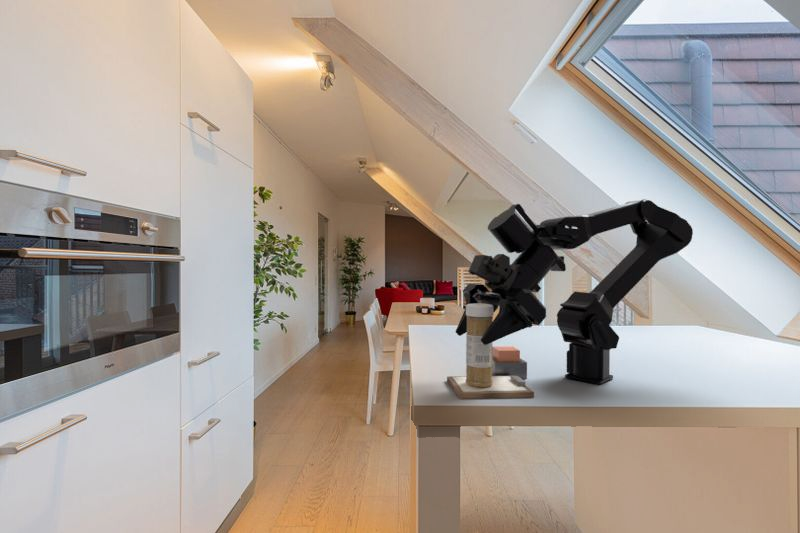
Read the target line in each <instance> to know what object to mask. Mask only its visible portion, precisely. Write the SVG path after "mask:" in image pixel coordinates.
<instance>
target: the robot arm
mask: <svg viewBox="0 0 800 533" xmlns="http://www.w3.org/2000/svg"><path fill="white" fill-rule="evenodd" d="M628 225H629V226H630V228H631V231H632V232H633V234H634V235H635V236H636V241H635V242H636V243H635V247H633V249H632V250H631V251H629V253H628V254H627V255H626V256H624V258H623V259H622V260H621V261H619V263H618V264H617V265H616V266H615V267H614V268H612V270H611V271H609V273H608V274H607V275H606V276H605V277H604V278H603V279H602V280H601V281H600V282H599V283H598V284H597V285H596V286H595V287H594V288H593V289H592V290H590V291H589V292H584V291H574V292H573V293H571V294H570V296H569V297H568V298H567V299H566V300H565V301H564V302H562V303H560V308H559V310H558V311H557V314H556V317H557V319H556V323H557V327H558V329H559V331H560V333H561V335H562V336H561V337H562V339H563V342H564V343H568V350H566V373H567V374H566V373H565V374H564V378H566V379H572V380H576V381H581V382H587V383H591V384H595V385H596V384H597V385H602V384H603V383H605V382H607V381H609V380H610V381H611V380H612V379H613V378H614V375H612V374H610V368H611V367H610V363H611V362H610V361H611V360H610V356H611V355H610V354H611V353H610V350H612V349H614V350H615V349H617V347H618V343H619V341H620V340H619V339H620V337H619V335H618V334H617V333H616V331H615V330H614V329H613V328H612V327H611V323H612V322H613V315H614V313H613V312H614V309H615V308H616V306H617V305H618V304H619V303H621V301H622V300H623V299H624V298H625V297H626V296H627V295H628V294H629V293H630V291H632V290H633V289H634V287H636V285H637V284H639V282H641V280H642V279H643V278H644V277H645V276H646V275H647V274H648V273H649V272H650V271H651V270H652V269H653V268H654V267H655V265H657V264H658V263H659V261H662V260H663V259H666V258H668V257H671V256H674V255H675V254H677V253H679V252H680V251H682V250H683V249H684V248H686V247H687V246H689V245H690V243H692V239H693V234H694V233H693V231H694V230H693V228H692V225H691V224H690V223H689V221H687V220H686V219H685V218H683V217H681V216H680V215H678V214H677V213H675V212H673V211H671V210H668V209H666V208H664V207H661V206H659V205H657V204H656V203H655V202H653V201H652V200H649V199H647V198H646V199H645V198H642V199H638V200H632V201H631V200H630V201H627V202H625V203H624V204H620V205H616V206H613V207H609V208H605V209H603V210H600V211H596V212H591V213H588V214H586V215H571V216H563V217H555V218H548V219H545V220H543V221H541V222H540V224H535V222H533V221H532V219H531V218H530V216H529V215H528V214H527V213H526V211H525V209H524V208H523V206H522V205H521V204H520V203H517V204H511V206H510V207H509V208H507V209H505V210H504V211H503V212H501V213H499V215H497V216H495V217H494V218H493V219H492V220H491V221H490V222H489V223H488V225H487V230H488V231H489V232H490V233H491V235H492V236H493V237H494V238H495V239H496V241H498V242H499V244H500V246H502V247H503V249H504V250H505V251H506V252H507V253H509V254H512V253H516V254H518V256H517V257H516V258H515V259H514V261H512V263H511V257H510V256H509V255H506V254H504V253H498V254H496V255H495V256H492V255H486V254H475V255H474V257H473V260H472V261H471V264H470V266H469V267H468V268H469V269H468V271H467V272H468V273H469V275H473V276H477V277H479V278H481V279H483V280H484V281H485V284H481V283H468V284H467V285H466V286H465V287H464V288H463V290H462V293H463V298H464V300H465V306H466V305H467V304H475V303H480V304H491V305H493V309H494V313H495V312H496V311H497V310H498V308H499V310H498V313H497V314H496V315H495V317H494V319H492V323H491V325H490V326H489V327H488V329H487V330H486V332H485V333H484V335H483V337H482V338H481V342H482V343H483V344H484V345H487V344H489V343H492V344H493V342H495V341H498V340H500V339H503V338H505V337H506V336H509V335H512V334H514V333H517V332H519V331H522V330H525V329H527V328H532V327H533V325H535V326H540V325H541V324H542V323H543V321H544V320H545V318H546V317H547V308H546V307H545V305H544V304H543V303H542V302H541V301H540V300H539V299H538V297H537V296H536V295H535V294H534V293H539V291H541V289H542V287H541V286H540V285H539V284H540V282H541V281H542V280H543V279H544V278H545V277H546V276H547V275H548V273H549V272H550V271H551V272H565V271H566V269H567V267H566V263H565V256H564V255H558V253H556V252H555V251H559V250H561V251H562V250H574V249H576V248H579V247H580V246H582V245H584V244H585V243H588V242H589V240H590V239H592V238H593V237H594V236H596V235H599V234H601V233H602V234H603V233H605V232H609V231H611V230H615V229H618V228H621V227H624V226H628ZM489 289H490V290H489ZM455 333H456V334H457V336H462V335H464V334H466V333H467V315H466V307H465V308H464V311H463V313H462V316H461V318H460V320H459V323H458V325H457V327H456V329H455Z"/></svg>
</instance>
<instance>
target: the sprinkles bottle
mask: <svg viewBox="0 0 800 533" xmlns="http://www.w3.org/2000/svg"><path fill="white" fill-rule="evenodd" d="M465 308H466V315H467V332H466V333H465V334H466V336H465V338H466V342H465V343H466V344H465V346H466V349H465V351H466V352H465V353H466V354H465V364H466V365H465V366H466V367H465V368H466V370H465V371H466V375H465V376H466V383H467V384H468V385H470V386H474V387H489V386H491V385H492V384H493V381H492V364H493V347H494V346H493V342H492V343H489V344H487V345H484V344H483V343H482V342H481V338H482V337H483V335H484V333H485V332H486V330H487V329H488V327H489V326H490V325H491V323H492V322H493V320H494V319H493V318H494V313H495V312H494V309H493V305H491V304H480V303H475V304H467V305H466V304H465Z"/></svg>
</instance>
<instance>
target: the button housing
mask: <svg viewBox="0 0 800 533" xmlns="http://www.w3.org/2000/svg"><path fill="white" fill-rule="evenodd" d="M510 375H512V376H518V377H520V378H521V379H522V380H524V379H525V380H526V379H527V378H528V362H527V361H526V360H524V359H522V358H521V357H520V362H497V361H495V360H494V359H493V364H492V376H510Z"/></svg>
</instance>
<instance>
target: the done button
mask: <svg viewBox="0 0 800 533" xmlns="http://www.w3.org/2000/svg"><path fill="white" fill-rule="evenodd" d="M520 358H521V351H520V349H519V348H516V347H515V346H512V345H511V346H493V359H494V360H495V361H497V362H520Z"/></svg>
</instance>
